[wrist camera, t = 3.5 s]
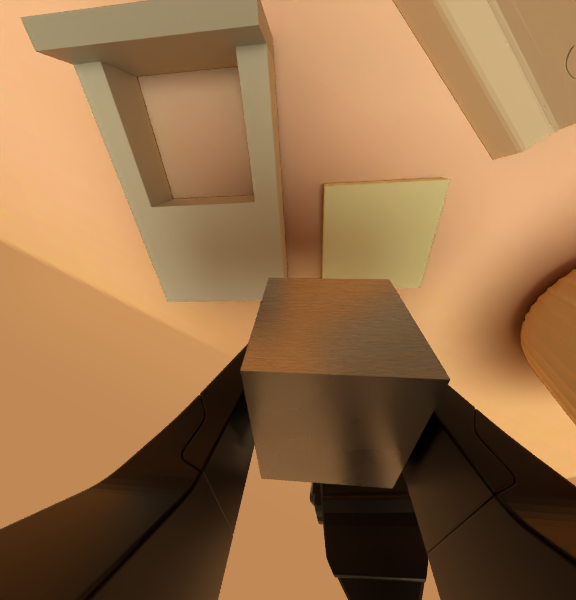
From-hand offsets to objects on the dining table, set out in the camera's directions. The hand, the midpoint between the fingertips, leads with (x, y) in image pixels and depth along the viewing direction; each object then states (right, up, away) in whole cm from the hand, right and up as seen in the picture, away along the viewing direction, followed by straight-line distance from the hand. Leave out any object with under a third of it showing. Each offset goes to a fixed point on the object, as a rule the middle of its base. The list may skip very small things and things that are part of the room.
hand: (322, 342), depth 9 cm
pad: (+5, +7, +10) cm, 13 cm away
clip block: (0, 0, 0) cm, 0 cm away
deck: (-7, +9, +9) cm, 15 cm away
